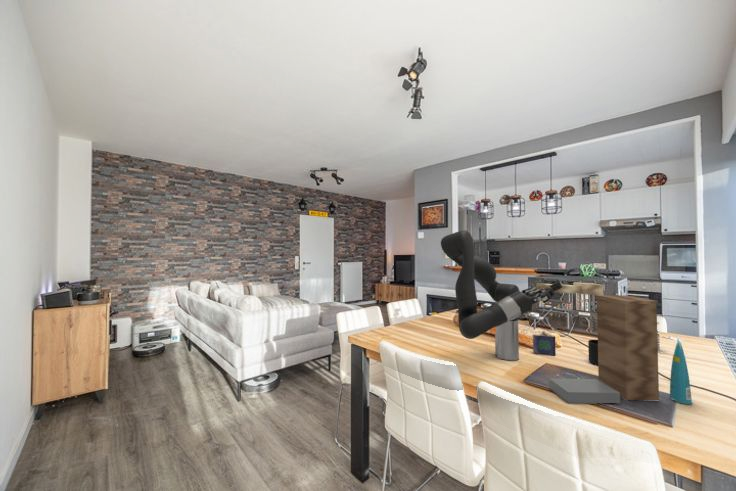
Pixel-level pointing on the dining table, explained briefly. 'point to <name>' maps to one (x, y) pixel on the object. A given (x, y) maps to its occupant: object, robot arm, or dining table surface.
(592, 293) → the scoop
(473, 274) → the robot arm
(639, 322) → the stand
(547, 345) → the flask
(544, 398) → the dining table surface
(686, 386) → the tube
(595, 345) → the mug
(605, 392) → the board
